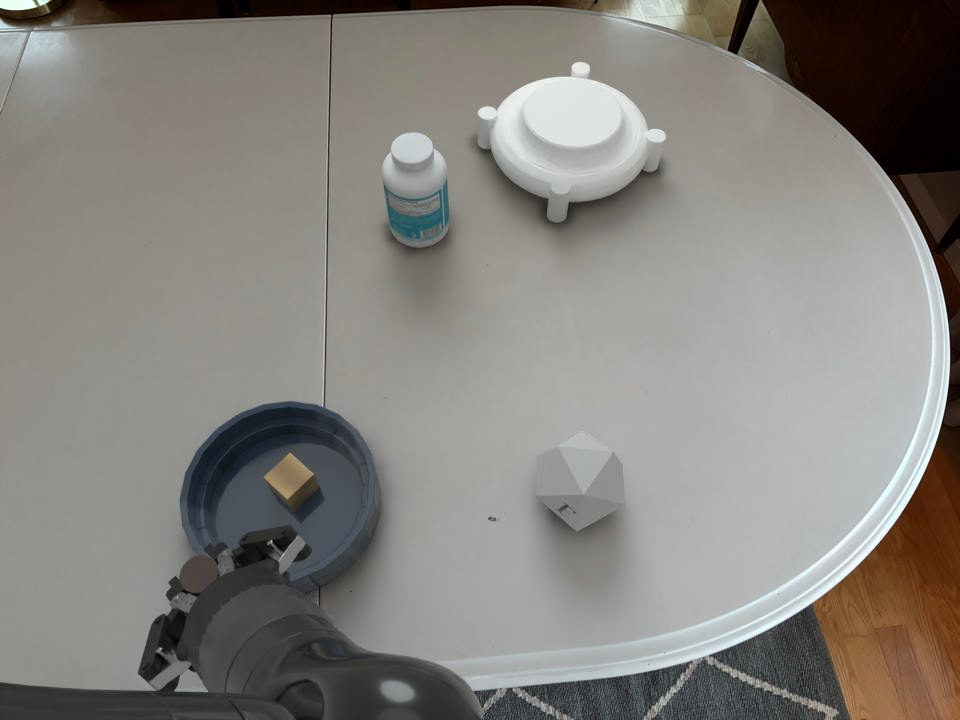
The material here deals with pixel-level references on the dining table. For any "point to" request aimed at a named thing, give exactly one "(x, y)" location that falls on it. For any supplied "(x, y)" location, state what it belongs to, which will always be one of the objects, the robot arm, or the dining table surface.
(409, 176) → the pill bottle
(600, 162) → the round stand with pegs
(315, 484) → the block
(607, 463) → the die
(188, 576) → the brown cylinder
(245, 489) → the bowl
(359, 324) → the dining table surface
